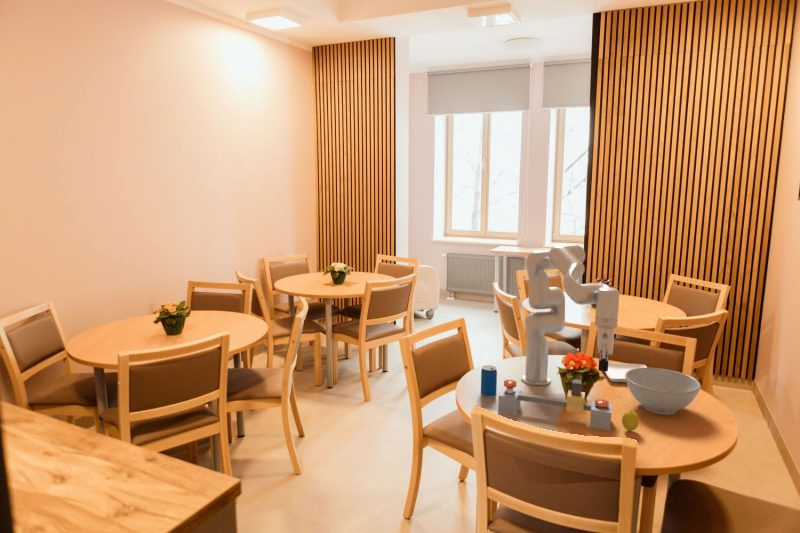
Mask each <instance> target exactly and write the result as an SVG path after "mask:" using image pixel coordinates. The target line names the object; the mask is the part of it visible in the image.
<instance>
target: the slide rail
mask: <svg viewBox="0 0 800 533" xmlns="http://www.w3.org/2000/svg"><path fill="white" fill-rule="evenodd" d="M506 392H507V387H505V386H503V387H502V389H501V391H500V393H499V394H498V403H497V407H498V408H497V413H498V414H499V413H500V414H505V415H511V416H517V414H518V413H519V410H520V408H521V401H522V402H529V403H535V404H542V405H549V406H556V407H562V408H566V407H567V399H563V398H562V399H561V398H556V397H550V396H544V395H543V396H542V395H538V394H537V395H536V394H530V393H525V392H523V393H522V389H518V388H513V395H509V394H506ZM591 401H592V402H591V403H590V402H585V403H584V410H583V411H587V412H590V416H589V417H590V418H589V420H590V422H589V429H596V430H601V431H609V432H611V424H612V412H613V403H611V402H609V407H608V408H605V409H601V408H598V407H597V406H595V400H593V399H592V400H591Z"/></svg>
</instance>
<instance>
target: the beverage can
mask: <svg viewBox="0 0 800 533" xmlns="http://www.w3.org/2000/svg"><path fill="white" fill-rule="evenodd" d="M497 370H498V369H497V368H496V366H493V365H484V366H482V367H481V370H480V372H481V374H480V394H481V395H482V396H483V397H485V398H493V397H495V396H497V387H498V386H497V385H498V384H497V382H498V371H497Z"/></svg>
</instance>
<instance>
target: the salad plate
mask: <svg viewBox="0 0 800 533" xmlns="http://www.w3.org/2000/svg"><path fill="white" fill-rule="evenodd" d="M636 368H648V367H647V365H645V364H642V363H641V364H640V363H625V362H624V363H621V362H619V363H618V362H608V371H604V373H605V374H606V376H607V378H608V379H609V381H611V382H614V383H618V382H626V378H625V374H626V372H628V371H629V370H632V369H636Z"/></svg>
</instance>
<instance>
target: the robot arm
mask: <svg viewBox="0 0 800 533" xmlns="http://www.w3.org/2000/svg"><path fill="white" fill-rule="evenodd" d="M585 260H586V251H585V250H584V248H583V247H582V246H581V245H579V244H575V243H574V244H558V245H555V246H553V247H552V248H550V249H540V250H534V251H532V252H530V253H528V255H527V258H526V261H525V266H526V271H527V276H528V304H529V307H530V308H531V309H533V310H548V311H536V312H532V313H531V312H530V313H529V314H528V315H526V317H525V319H524V325H525V333H526V348H525V349H526V351H525V352H526V354H525V374H523V375H522V376H521V381H522V382H523V383H525V384H527V385H531V386H547V385H550V383H551V378H550V377H549V376H548V368H549V367H548V364H549V362H548V361H549V341H548V339H547V338H546V336H545V334H551V333H559V332H562V331H563V329H564V328H565V324H566V323H565V322H566V297H565V296H566V295H567V296H568V297H569V298H570V299H571V301H572V302H574V303H575V304H577V305H581V306H582V305H592V304H593V305H594V304H595V318H594V326H596V327H598V328H597V353H598V354H599V358H598V369H597V370H598V371H600V372H605V371H608V363H609V355H610V356H613V352H614V342H615V341H614V340H615V339H614V338H615V329H616V328H618V320H619V305H620V303H619V302H620V291H619V290H618V289H617V288H614V287H610V286H609V285H607V284H605V283H602V282H596V283H579V282H578V280H579V279H580V278H581V277H582V276H583V274H585V265H584V261H585ZM548 270H558V271H559V272H560V274H561V275H562V276H563V279H562V281H563V282H562V284H563V289H564V291H563V290H562V289H561V287H557V286H549V282H550V280H549V276H548V274H547V272H546V271H548ZM564 292H565V293H566V295H565V293H564Z"/></svg>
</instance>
